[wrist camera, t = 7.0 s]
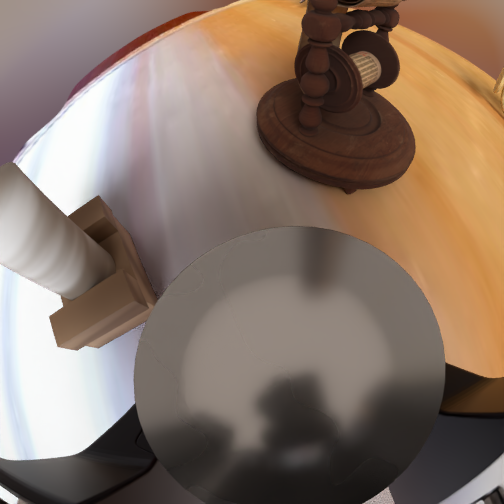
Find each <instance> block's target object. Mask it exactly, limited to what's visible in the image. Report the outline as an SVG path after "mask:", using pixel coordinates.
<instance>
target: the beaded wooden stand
mask: <svg viewBox="0 0 504 504" xmlns="http://www.w3.org/2000/svg"><path fill="white" fill-rule="evenodd" d="M401 1H404V0H308V3H307V10H306V14H305V15H304V17H303V19H302V23H301V24H302V33H301V37H300V42H299V46H298V52H297V55H296V58H295V74H296V78H295V79H291V80H288V81H285V82H282V83H280V84H278V85H276V86H274V87H273V88H271V89H270V90H269V91H268V92H266V93H265V95H264V96H263V97H262V98H261V100H260V102H259V104H258V108H257V128H258V132H259V135H260V138H261V140H262V141H263V143H264V145H265V146H266V147H267V149H268V150H269V151H270V152H271V153H272V154H273V155H274V156H275V157H276V158H277V159H278V160H279V161H281V162H282V163H283V164H284V165H286V166H287V167H289V168H290V169H292V170H294V171H296V172H297V173H299V174H301V175H303V176H305V177H308V178H310V179H312V180H315V181H318V182H321V183H324V184H327V185H331V186H336V187H341V188H344V189H345V192H346V193H347V194H351V193H353V192H355V191H356V190H357V189H372V188H378V187H382V186H385V185H388V184H390V183H392V182H394V181H396V180H397V179H399V178H400V177H401V176H402V175H403V174H404V173H405V172H406V170H407V169H408V167H409V165H410V164H411V162H412V160H413V158H414V154H415V139H414V135H413V132H412V130H411V128H410V126H409V124H408V122H407V121H406V119H405V118H404V117H403V115H402V114H401V113H400V112H399V111H398V110H397V109H396V108H395V107H394V106H393V105H392V104H391V103H390V102H389V101H387V100H386V99H385V98H384V97H382V96H381V95H379V94H378V93H376V92H375V91H374V90H376V89H381V88H386V87H388V86H390V85H392V84H393V83H394V82H395V81H396V79H397V77H398V75H399V70H400V63H399V59H398V56H397V53H396V51H395V50H394V48H393V47H392V45H391V44H390V43H389V37H388V32H390V31H392V28H394V27H396V25H397V24H398V21H399V14H398V12H397V11H396V10H394V8H395V7H396V6H398V4H399V3H400V2H401ZM370 6H377V7H376V8H375V9H374V10H371V11H366V10H353V11H350V12H347V10H348V8H352V7H370ZM373 25H376V26H377V27H378V28H379V29H378V30H377V32H376V33H374V32H371V31H366V30H360V31H355V32H353V33H351V34H349V35H348V36H347V37H346V38H345V40H344V42H343V44H342V49H340V48H339V45H340V40H341V36H342V32H346V31H348V30H349V29H367V28H368V27H372V26H373Z"/></svg>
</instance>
